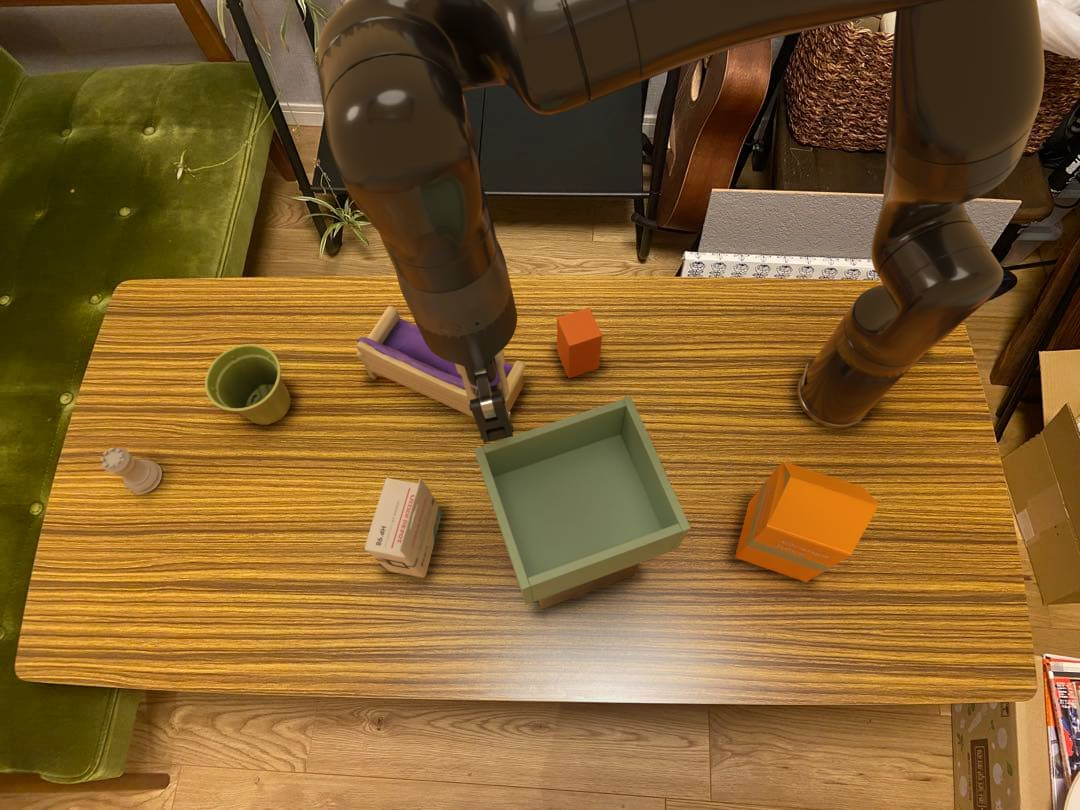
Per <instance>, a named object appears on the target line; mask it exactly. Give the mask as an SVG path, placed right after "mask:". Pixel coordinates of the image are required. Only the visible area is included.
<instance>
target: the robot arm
mask: <svg viewBox="0 0 1080 810" xmlns="http://www.w3.org/2000/svg"><path fill="white" fill-rule="evenodd" d="M891 13H895V19H894V29H893V41H892V53H891V57H892V58H891V75H890V91H889V92H890V93H889V100H888V107H887V114H886V133H885V168H884V177H883V195H882V203H881V205H880V206H881V207H880V210H879V214H878V218H877V222H876V226H875V229H874V233H873V237H872V240H871V246H870V259H871V262H872V265H873V269H874V271H875V273H876V275H877V276H878V279H879V280H880V282H881V283H882V285H876V286H874V287H871V288H868V289H867V290H865V291H863V292H862V293H861V294H860V295H859V296H857V297H856V299H855V300H854V301H853V303H852V305H850V307H849V309H848V310H847V311H846V313H845V314H844V316H843V317H842V318H841V320H840V322H839V323H838V325H837V326H836V328H835V329H834V331H833V332H832V334H831V335H830V337H829V338H828V340H826V342H825V344H824V345H823V347H822V348H821V349H820V351H819V352H818V354H817V355H816V357H815V358H814V360H813V361H812V362H811V364H810V366H809V362H807V364H805V368H804V372H803V374H802V375H801V376H800V379H799V380H798V383H797V386H796V397H797V401H798V404H799V406H800V408H801V409H802V411H803V412H804V414H805V415H807V416H808V418H810V419H811V420H812V421H814V422H815V423H817V424H818V425H821V426H824V427H827V428H830V429H846V428H847V429H848V428H850V427H853V426H854V425H855V426H856V425H857V424H858V423H860V422H861V421H862V420H863V419H864V418H865V417H866V415H867V414H868V413H869V412H870V410H871V409H872V408H873V407H875V406H876V404H878V402H879V401H880V400H881V399H882V398H883V397H884V396H885V395H886V394H887V393H888V392H889V391H890V390H892V388H893V387H894V386H895V385H896V384H897V383H898V382H899V381H900V379H902V378H903V377H904V376H905V375H906V373H907V372H909V370H910V369H911V368H912V367H914V365H915V364H916V363H917V362H919V360H920V359H921V358H922V357H923V356H924V355H925V354H926V353H927V352H928V351H929V350H931V349H932V348H934V347H935V346H937V345H938V344H939V343H941V342H942V341H943V340H944V339H946V338H947V337H948V336H949V335H951V333H952V332H954V331H955V330H956V329H957V328H958V327H959V326H960V325H962V323H963V322H965V321H966V320H967V319H968V318H969V317H970V316H972V315H973V314H974V313H975V312H977V310H979V309H980V308H981V307H983V305H984V304H985V303H987V302H988V301H989V300H990V299H991V298H992V297H993V296H994V294H996V292H997V291H998V290H999V289H1000V286H1001V285H1002V283H1003V280H1004V277H1005V276H1004V275H1005V272H1004V269H1003V267H1002V265H1001V263H1000V262H999V260H998V259H997V257H996V256H995V255H994V253H993V251H992V250H991V248H990V246H989V245H988V244H987V242H986V241H985V239H984V238H983V236H982V234H981V233H980V232H979V230H978V229H977V228H976V226H975V224H974V223H973V221H972V220H971V218H970V216H969V215H968V213H967V210H966V209H965V206H964V204H965V203H968V202H971V201H973V200H977V199H979V198H980V197H982V196H984V195H985V194H986V195H987V194H988V193H990V192H991V191H993V190H994V189H996V187H998V186H999V185H1000V184H1002V183H1003V182H1004V181H1005V180H1006V179H1007V178H1008V177H1009V176H1010V174H1011V173H1012V172H1014V170H1015V168H1016V166H1017V165H1018V163H1019V161H1020V160H1021V158H1022V156H1023V154H1024V152H1025V150H1026V147H1027V143H1028V142H1029V139H1030V137H1031V136H1030V135H1031V134H1032V133H1031V132H1032V129H1033V126H1034V124H1035V121H1036V118H1037V115H1038V113H1039V110H1040V106H1041V102H1042V98H1043V95H1044V94H1043V93H1044V92H1043V91H1044V87H1045V86H1044V84H1045V68H1046V67H1045V52H1044V51H1045V50H1044V45H1043V36H1042V35H1043V34H1042V28H1041V19H1040V12H1039V6H1038V0H347V1H346V2H345V3H343V5H341V6H340V7H339V8H338V9H337V10H336V11H335V12H334V13H333V14H332V15H331V17H330V18H329V19H328V20H327V21H326V23H325V25H324V27H323V29H322V30H321V32H320V36H319V39H318V42H317V49H316V64H317V66H316V67H317V75H318V81H319V88H320V95H321V101H322V109H323V115H324V124H325V131H326V139H327V142H328V148H329V150H330V153H331V156H332V159H333V162H334V165H335V168H336V170H337V172H338V175H339V178H340V180H341V181H342V183H343V185H344V187H345V188H346V191H347V193H348V194H349V196H350V198H351V199H352V201H353V202H354V204H355V205H356V206H357V208H358V209H359V210H360V211H361V213H362V214H363V215H364V216H365V219H367V220H368V221H369V223H370V224H371V226H372V227H373V228H374V229H375V230H376V231H377V232H378V234H379V237H380V239H381V242H382V244H383V246H384V248H385V251H386V253H387V255H388V257H389V259H390V262H391V264H392V266H393V268H394V270H395V274H396V278H397V279H396V280H397V282H398V287H399V289H400V292H401V295H402V297H403V299H404V300H405V303H406V305H407V308H408V309H409V312H410V314H411V316H412V319H413V320H414V322H415V325H417V327H418V329H419V331H420V333H421V335H422V337H423V339H424V341H425V343H426V345H427V346H428V348H429V349H430V350H431V351H432V352H433V353H434V354H435V355H437V356H438V357H440V358H442V359H444V360H446V361H449V362H452V363H455V366H456V369H457V372H458V374H460V375H461V376H462V379H463V383H464V387H465V390H466V394H467V397H468V401H469V403H470V405H469V408H470V411H472V413H473V416H474V417H473V418H474V421H475V423H476V425H477V428H478V431H479V434H480V439H481V440H482V441H483V443H484V444H487V443H492V442H496V441H499V440H502V439H505V438H508V437H513V436H514V433H515V430H514V426H513V424H512V420H511V416H512V415H511V414H512V413H511V410H508V408H507V404H506V400H505V398H506V397H508V395H509V388H508V383H507V379H506V374H505V370H504V366H503V365H504V363H505V362H506V359H505V354H504V349H505V348H506V347H507V345H508V344H509V343H510V341H511V340H512V338H513V337H514V335H515V332H516V330H517V329H516V328H517V325H518V311H517V307H516V301H515V298H514V292H513V288H512V284H511V279H510V275H509V271H508V265H507V262H506V258H505V255H504V252H503V249H502V247H501V245H500V243H499V241H498V238H497V234H496V229H495V225H494V222H493V217H492V213H491V208H490V205H489V202H488V197H487V195H486V193H485V189H484V187H483V183H482V182H483V181H482V174H481V166H480V160H479V154H478V149H477V144H476V139H475V134H474V130H473V125H472V120H471V116H470V113H469V109H468V104H467V101H466V97H465V95H464V92H465V91H469V90H476V89H482V88H489V87H490V88H491V87H499V86H501V87H503V86H507V87H510V88H511V89H512V90H513V91H514V93H516V95H517V96H518V97H519V99H520V100H521V101H522V103H524V105H525V106H526V107H527V108H528V109H529V110H530V111H532V112H534V113H535V114H538V115H542V116H552V115H557V114H560V113H565V112H567V111H570V110H573V109H575V108H578V107H581V106H583V105H586V104H588V103H589V102H594V101H597V100H599V99H602V98H604V97H606V96H610V95H611V94H614V93H616V92H619V91H622V90H624V89H627V88H629V87H633V86H634V85H637V84H639V83H642V82H645V81H648V80H650V79H652V78H655V77H657V76H660V75H662V74H665V73H667V72H670V71H673V70H675V69H678V68H682V67H684V66H687V65H689V64H691V63H695V62H697V61H700V60H703V59H705V58H708V57H712V56H715V55H718V54H721V53H724V52H727V51H730V50H733V49H738V48H740V47H741V48H742V47H744V46H748V45H752V44H756V43H761V42H763V41H768V40H773V39H777V38H782V37H785V36H790V35H795V34H799V33H803V32H809V31H813V30H817V29H822V28H826V27H831V26H836V25H841V24H846V23H851V22H855V21H859V20H864V19H868V18H874V17H877V16H878V17H879V16H882V15H888V14H891ZM496 366H497V367H496ZM808 366H809V367H808ZM497 370H498V374H499V378H500V382H499V384H497V385H494V386H490V383H492V382H494V381H495V379H496V375H497ZM489 382H490V383H489ZM472 385H473V386H477V387H478V389H475V388H474V387H473V386H472Z"/></svg>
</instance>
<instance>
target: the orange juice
mask: <svg viewBox="0 0 1080 810" xmlns="http://www.w3.org/2000/svg"><path fill="white" fill-rule="evenodd" d="M879 506H880V503H878V501H877V500H876V499H875V498H874V497H873V496H872V494H871V493H870V492H869V491H868V490H867V489H866V488H865V487H864V486H861V485H858V484H855V483H852V482H849V481H846V480H842V479H840V478H837V477H834V476H831V475H827V474H824V473H821V472H817V471H814V470H811V469H808V468H805V467H802V466H799V465H796V464H793V463H790V462H788V461H787V462H786V461H781V462H780V464H779V465H778V466H777V467H776V469H775V470H774V471H773V473H772V474H771V475H770V476H769V477H768V479H766V480H765V481H764V482H763V484H762V485H761V486H760V488H759V489H758V490H757V492H756V493H755V494H754V495H753V496H752V497H751V499H750V500H749V501H748V505H747V508H746V513H745V517H744V520H743V525H742V528H741V532H740V536H739V540H738V544H737V548H736V550H735V551H736V552H735V555H734V558H735V559H738V560H741V561H743V562H746V563H748V564H752V565H755V566H758V567H762V568H764V569H767V570H770V571H773V572H775V573H778V574H781V575H784V576H787V577H790V578H791V579H795V580H798V581H801V582H804V583H807V582H809V581H811V580H812V579H814V578H816V577H818V576H819V575H821V574H823V573H825V572H826V571H828V570H830V569H831V568H832V567H835V566H836V565H838V564H839V563H840V562H841V563H842V561H844V560H845V559H847V558H849V557H851V556H852V555H853V552H854V550H855V549H856V547H857V545H858V544H859V542H860V540H861V538H862V536H863V535H864V533H865V532H866V529H867V528H868V526H869V524H870V523H871V521H872V518H873V517H874V516H875V513H876V512H877V510H878V508H879Z"/></svg>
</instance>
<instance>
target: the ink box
mask: <svg viewBox="0 0 1080 810" xmlns="http://www.w3.org/2000/svg"><path fill="white" fill-rule="evenodd" d="M442 515H443V513H442V510H441V509H440V507H439V505H438V504H437V501H436V499H435V498H434V495H433V494H432V492H431V490H430V488H429V486H428V484H427V483H425V481H424V479H423V478H422V477H420V478H419V479H418V482H415V481H414V482H412V481H406V480H400V479H395V478H390V477H386V478H385V480H384V483H383V487H382V490H381V493H380V496H379V499H378V502H377V505H376V509H375V512H374V515H373V518H372V522H371V525H370V527H369V531H368V535H367V538H366V542H365V545H364V548H363V549H364V550H365V551H366V552H367V553H368V554H369V555H370V556H372V557H373V558H374V559H375V560H376V561H377V562H378V563H379V564H380V565H381V566H382V567H384V568H385V570H387V571H388V572H390V573H397V574H401V575H407V576H412V577H418V578H425V577H426V576H427V573H428V569H429V565H430V561H431V557H432V553H433V550H434V545H435V542H436V538H437V535H438V530H439V526H440V522H441V518H442Z"/></svg>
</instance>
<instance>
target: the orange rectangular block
mask: <svg viewBox="0 0 1080 810" xmlns="http://www.w3.org/2000/svg"><path fill="white" fill-rule="evenodd" d="M556 334H557V335H556V352H557V355H558V357H559V360H560V362H561V364H562V367H563V369H564V372H565V374H566V376H567V378H568V379H571V378H574V377H578V376H580V375H583V374H586V373H590V372H593V371H595V370H598V369H599V368H600V359H601V350H602V342H603V334H602V332H601V329H600V327H599V325H598V323H597V321H596V318H595V316H594V314H593V311H592V309H591V307H587V308H586V307H585V308H584V309H580V310H577V311H574V312H571V313H567V314H564V315H561V316H558V317H557V318H556Z"/></svg>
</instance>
